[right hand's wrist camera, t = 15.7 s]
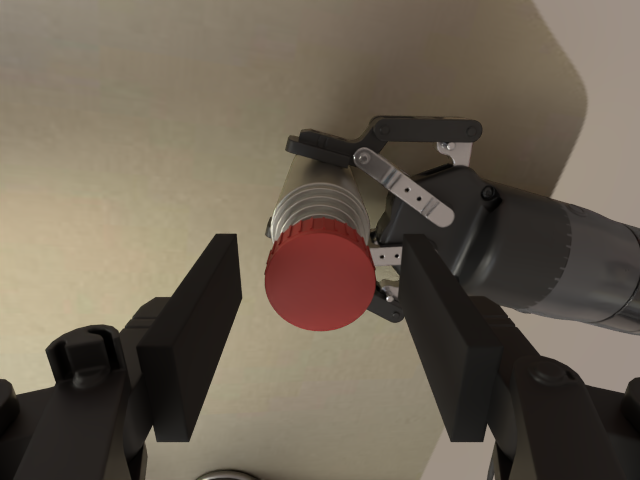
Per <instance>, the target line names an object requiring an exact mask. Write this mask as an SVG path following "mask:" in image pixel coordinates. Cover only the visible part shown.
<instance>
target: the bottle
mask: <svg viewBox="0 0 640 480" xmlns="http://www.w3.org/2000/svg"><path fill="white" fill-rule="evenodd" d="M311 217H313V218H323V217H325V218H327V219H333V220H334V219H336V220H337V221H340V222H342V223H344V224H345V223H347V225H348V226H349V227H351V228H352V229H356V231H357V233H358V234H359V235H360V236H361V237H362V236H363V238H364V241H365V244H366V246H367V244H368V240H369V236H370V221H369V217H368V214H367V211H366V209H365V206H364V203H363V201H362V198H361V195H360V193H359V190H358V187H357V185H356V182H355V179H354V177H353V174H352V171H351V169H350V166H349V165H348V169H346V168H343V167H339V166H336V165H333V164H329V163H325V162H321V161H318V160H314V159H311V158H307V157H304V156H300V155H297V156H296V157H295V158H294V160H293V162H292V164H291V167H290V170H289V173H288V175H287V178H286V181H285V183H284V186H283V189H282V191H281V194H280V197H279V199H278V202H277V205H276V207H275V210H274V213H273V216H272V220H271V227H270V230H271V238H272V242H273V245H274V242H275V240H276V241H277V240H278V238H279V237H280V235H281V232H283V233H284V232H285V231H286V230H287V229H288V228H289V226H290V225H292V226H293V225H295V224H297V223H299V221H300V220H302V221H304V220H308V219H311Z"/></svg>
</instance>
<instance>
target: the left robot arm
mask: <svg viewBox="0 0 640 480" xmlns="http://www.w3.org/2000/svg"><path fill="white" fill-rule="evenodd" d="M481 134H482V126H481V124H480V123H479V122H478V121H475V120H471V119H467V118H461V117H433V116H375V117H373V118H372V119H371V120H370V122H369V126H368V127H367V129H366V130H365V132H364V133H363V134H362V135H361V136H360V137H359V138H358V139H355V140H347V139H344V138H340V137H337V136H334V135H330V134H326V133H323V132H320V131H316V130H313V129H304V130H301V132H300V136H299V137H297V136H292V135H290V136H289V137H288V141H287V145H286V149H285V150H286V151H288V152H290V153H293V154H297V155H300V156H304V157H307V158H311V159H314V160H318V161H321V162H325V163H329V164H333V165H336V166H339V167H343V168H346V169H348V165H351V166H355V167H358V168H360V169H361V170H362V171H364V172H365V173H367V174H368V175H369V176H371V177H372V178H374V179H375V180H376V181H378V182H379V183H381V184H382V185H383V186H384V187H385V188H386V189H388V190H389V193H388V196H387V198H386V210H385V212H384V213H383V215H382V216H381V218H380V219H379V221H378V224H377V226H376V228H374V229H370V236H369V240H368V244H367V246H369V249H370V252H371V255H372V259H373V262H374V265H375V266H388V265H391V266H392V267H393V268H394V269H395V271H396V272H397V273H398V274H399V276H400V267H401V256H402V244H403V234H424V235H425V236H426V237H427V239H428V240H429V242H430V243H431V244H432V246H433V247H434V249H435V250H436V251H437V253H438V254H439V256H440V257H441V258H442V260H443V261H444V263H445V264H446V266H447V267H448V268H449V270H450V271H451V273H452V274H453V275H454V277H455V278H456V280H457V281H458V282H459V284H460V285H461V287H462V288H463V289H464V291H465V292H466V294H467V295H468V296H485V297H487V298H489V299H490V300H492V301H493V302H495V303H496V304H498V305H501V306H505V307H508V308H513V309H515V310H517V311H519V312H522V313H529V314H531V313H532V314H536V315H540V316H544V317H550V318H554V319H562V320H573V321H579V322H583V323H587V324H591V325H594V326H598V327H603V328H607V329H610V330H614V331H619V332H623V333H628V334H633V335H640V228H637V227H633V226H630V225H626V224H623V223H619V222H616V221H613V220H611V219H608V218H606V217H604V216H602V215H600V214H598V213H595V212H593V211H591V210H588V209H585V208H582V207H579V206H576V205H573V204H568V203H565V202H561V201H558V200H554V199H551V198H548V197H544V196H541V195H538V194H534V193H531V192H527V191H524V190H520V189H517V188H513V187H510V186H506V185H503V184H500V183H496V182H493V181H489V180H486V179H483V178H480V177H479V176H478V175H477V174H476V172H475V171H474V170H473V169H471V168H470V167H469V163H470V157H471V151H472V145H473V142H475V141H477V140H478V139H479V138H480V136H481ZM388 141H400V142H433V147H434V149H435V150H436V151H438V152H439V153H441V154H444V155H447V156H448V158H449V163H447V164H445V165H442V166H439V167H436V168H433V169H431V170H428V171H425V172H422V173H419V174H416V175H414V176H410V175H408V174H407V173H406V172H404V171H403V170H402V169H400V168H399V167H398V166H396V165H395V164H394V163H392V162H391V161H389V160H388V159H386V158H385V157H383V156H382V155H381V154H379V152H380V151H381V150H382V148H383V147H384V146H385V145H386V143H387V142H388ZM271 220H272V217H270V219H269V222H268V225H267V229H266V233H265V235H266V236H267V237H269V238H271V230H270V227H271ZM271 239H272V238H271ZM398 290H399V280H398V281H391V280H387V279H383V280H382V281H380V282H378V281H376V287H375V293H374V296H373V299H372V301H371V303H370V305H369V306H368V308H367V310H369V311H371V312H373V313H375V314H377V315H379V316H381V317H383V318H384V319H386V320H388V321H390V322H393V323H397V322H400V321H401V320H403V318H404V314H403V311H402V308H401V305H400V303H399V300H398ZM197 480H257V479H255V478H254V477H252V476H250V475H247V474H244V473H240V472H235V471H217V472H212V473H208V474H206V475H203V476H201V477H200V478H198V479H197Z"/></svg>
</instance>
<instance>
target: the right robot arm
mask: <svg viewBox="0 0 640 480" xmlns="http://www.w3.org/2000/svg"><path fill="white" fill-rule="evenodd" d="M241 300H242V290H241V278H240V267H239V256H238V244H237V234H216V235H215V236H214V237H213V239H212V240H211V242H210V243H209V244H208V246H207V247H206V249H205V250H204V251H203V253H202V254H201V256H200V257H199V258H198V260H197V261H196V263H195V264H194V266H193V267H192V268H191V270H190V271H189V273H188V274H187V275H186V277H185V278H184V280H183V281H182V282H181V284H180V285H179V287H178V288H177V289H176V291H175V292H174V294H173V295H172V296H171V297H155V298H154V299H152V300H150V301H149V302H147V303H146V304H144V305H143V306H141V307H140V309H139V310H138V311H137V312H136V313H135V315H134V316H133V317H132V319H131V320H130V321H129V322H128V323H127V324H126V326H125V329H122V331H121V332H120V333H119V332H118V330H117V329H115V328H114V327H113V326H108V325H90V326H86V327H82V328H78V329H75V330H73V331H70V332H68V333H66V334H63V335H62V336H60V337H59V338H57V339H56V340H54V341H53V342H52V343H51V344H50V345H49V346H48V347H47V348H46V350H45V351H46V354H47V357H48V360H49V363H50V366H51V369H52V372H53V375H54V378H55V381H56V384H55V386H54V387H50V388H46V389H42V390H37V391H32V392H28V393H23V394H19V395H16V394H15V391H14V389H13V386H12V384H11V383H10V382H8V381H7V380H5V379H0V480H145V475H146V466H147V450H146V445H145V439H146V437H147V435H148V433H149V431H150V429H151V427H152V425H153V427H154V431H155V436H156V440H157V442H189V441H190V438H191V435H192V433H193V430H194V427H195V425H196V422H197V419H198V416H199V414H200V411H201V408H202V406H203V403H204V400H205V397H206V395H207V392H208V389H209V387H210V384H211V381H212V379H213V376H214V373H215V370H216V368H217V365H218V362H219V360H220V357H221V354H222V351H223V349H224V346H225V343H226V341H227V338H228V335H229V333H230V330H231V327H232V324H233V322H234V319H235V316H236V314H237V311H238V308H239V305H240V303H241ZM398 300H399V303H400V305H401V308H402V311H403V314H404V316H405V319H406V322H407V324H408V327H409V330H410V333H411V335H412V338H413V341H414V343H415V346H416V349H417V351H418V354H419V357H420V360H421V362H422V365H423V368H424V370H425V373H426V376H427V379H428V381H429V384H430V387H431V389H432V392H433V395H434V397H435V400H436V403H437V406H438V408H439V411H440V414H441V416H442V419H443V422H444V425H445V427H446V430H447V433H448V435H449V438H450V441H451V442H483V440H484V436H485V431H486V427H487V423H488V425H489V427H490V429H491V431H492V433H493V435H494V437H495V440H496V441H495V445H494V449H493V454H492V458H491V462H490V466H489V470H488V476H487V480H493V476H494V474H495V480H640V377H638V378H634V379H633V380H632V381H630V382H629V384H628V386H627V389H626V392H625V393H620V392H615V391H611V390H606V389H601V388H597V387H592V386H589V385H585V384H584V382H583V380H582V379H581V378H580V376H579V375H578V374H577V373H576V372H575V371H574V370H572V369H571V368H570V367H568V366H567V365H565V364H563V363H561V362H559V361H557V360H555V359H551V358H548V357H544V356H540V354H539V353H538V352H537V351H536V350H535V348H534V347H533V346H532V345H531V343H530V342H529V341H528V340H527V339H526V337H525V336H524V335H523V334H522V333H521V331H520V330H519V329H518V328H517V327H515V324H514V323H513V322H512V320H511V319H510V318H508V315H507V314H506V313H505V312H504V311H503V309H502V308H501V307H500V306H499V305H498V304H496V303H495V302H493V301H492V300H490V299H489V298H487V297H485V296H468V295H467V294H466V292H465V291H464V289H463V288H462V287H461V285H460V284H459V282H458V281H457V280H456V278H455V277H454V275H453V274H452V273H451V271H450V270H449V268H448V267H447V266H446V264H445V263H444V261H443V260H442V258H441V257H440V256H439V254H438V253H437V251H436V250H435V249H434V247H433V246H432V244H431V243H430V242H429V240H428V239H427V237H426V236H425V235H424V234H403V244H402V256H401V267H400V278H399V290H398Z"/></svg>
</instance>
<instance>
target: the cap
mask: <svg viewBox="0 0 640 480" xmlns="http://www.w3.org/2000/svg"><path fill="white" fill-rule="evenodd" d="M266 264H267V266H266V270H265V274H264V275H265V289H266V294H267V297H268V299H269V302H270V304H271V305H272V307H273V308H274V310H275V311H276V312H277V313H278V314H279V315H280V316H281V317H282V318H283V319H285V320H286V321H287V322H289V323H291V324H293V325H294V326H297V327H299V328H302V329H306V330H312V331H329V330H335V329H338V328H341V327H344V326H346V325H348V324H350V323H352V322H353V321H355V320H356V319H357V318H359V317H360V316H361V315H362V314H363V313H364V312H365V310H366V309H367V308H368V306H369V305H370V303H371V301H372V299H373V296H374V293H375V287H376V276H375V271H374V270H376V269H375V265H374V262H373V259H372V255H371V252H370V249H369V246H366V244H365V241H364V238H363V236H362V237H361V236H360V235H359V234H358V233H357V231H356V229H352V228H351V227H349V226H348V225H347V223H345V224H344V223H342V222H340V221H337V220H336V219H334V220H333V219H327V218H325V217H323V218H313V217H311V219H308V220H304V221H302V220H300V221H299V223H297V224H295V225H293V226H292V225H290V226H289V228H288V229H287V230H286V231H285V232H284V233H283V232H281V235H280V237H279V238H278V240H277V241H276V240H275V242H274V245H273V248H272V250H270V254H269V257H268V260H267V263H266Z"/></svg>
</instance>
